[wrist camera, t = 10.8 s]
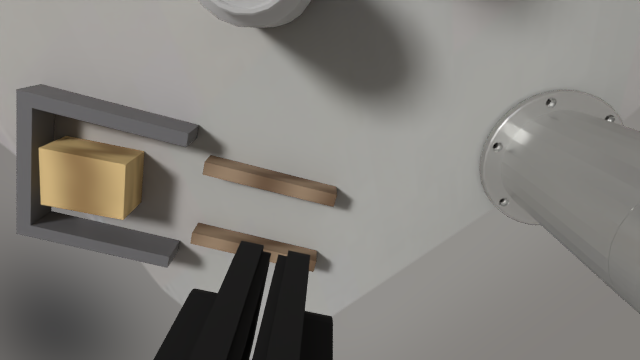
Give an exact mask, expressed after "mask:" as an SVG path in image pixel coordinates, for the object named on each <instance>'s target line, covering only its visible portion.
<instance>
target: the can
mask: <svg viewBox="0 0 640 360" xmlns="http://www.w3.org/2000/svg"><path fill="white" fill-rule="evenodd" d="M198 1H199V2H200V4H201V5H202V6H203V7H204V8H206V9H207V10H208V11H209V12H211V13H212V14H213V15H214V16H216V17H217V18H218V19H220V20H222V21H225V22H228V23H230V24H233V25H235V26H238V27H256V28H262V27H277V26H281V25H284V24H287V23H290V22H291V21H293V20H294V19H295V18H297V17H298V16H300V15H301V14H302V13H303V11H304V10H305V9H306V7H307V6H308V4H309V3H310V2H311V0H198Z"/></svg>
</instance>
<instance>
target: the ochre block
mask: <svg viewBox="0 0 640 360" xmlns="http://www.w3.org/2000/svg"><path fill="white" fill-rule="evenodd" d="M143 166H144V151H140V150H135V149H130V148H125V147H120V146H115V145H110V144H105V143H100V142H95V141H90V140H85V139H80V138H75V137H70V136H65V137H62V138H60V139H58V140H55V141H53V142H51V143H48V144H46V145H44V146H42V147H39V169H40V195H41V205H46V206H52V207H57V208H62V209H68V210H73V211H78V212H84V213H89V214H94V215H100V216H105V217H110V218H116V219H121V220H124V219H125V218H126V217H127V216H128V215H129V214H130V213H131V212H132V211H133V210H134V209H135V208H136V207H137V206H138V205H139V204H140V203H141V199H142V182H143Z"/></svg>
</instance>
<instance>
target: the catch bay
mask: <svg viewBox="0 0 640 360" xmlns="http://www.w3.org/2000/svg"><path fill="white" fill-rule="evenodd" d="M54 114H58V115H62V116H66V117H70V118H74V119H78V120H82V121H86V122H89V123H93V124H97V125H101V126H105V127H109V128H113V129H117V130H121V131H125V132H129V133H133V134H137V135H141V136H145V137H149V138H153V139H157V140H161V141H164V142H168V143H172V144H176V145H180V146H184V147H187V146H188V145H189V144H190V143H191V142H192V141H194V140H195V139H196V138H197V133H198V127H199V125H196V124H193V123H189V122H185V121H181V120H177V119H173V118H169V117H166V116H162V115H158V114H154V113H150V112H146V111H142V110H139V109H135V108H131V107H127V106H123V105H119V104H115V103H112V102H108V101H104V100H100V99H96V98H92V97H88V96H85V95H81V94H77V93H73V92H69V91H65V90H61V89H58V88H54V87H50V86H46V85H42V84H40V85H35V86H30V87H26V88H21V89H17V234H20V235H24V236H29V237H34V238H38V239H43V240H47V241H51V242H56V243H60V244H65V245H69V246H74V247H78V248H83V249H87V250H91V251H96V252H100V253H105V254H109V255H113V256H118V257H122V258H127V259H131V260H136V261H140V262H145V263H149V264H153V265H158V266H162V267H168V266H169V264H170V263H171V261H172V260H173V258H174V256H175V255H176V253H177V252H178V248H179V242H180V241H178V240H174V239H169V238H165V237H161V236H157V235H152V234H148V233H144V232H139V231H135V230H131V229H126V228H122V227H118V226H113V225H109V224H105V223H100V222H96V221H92V220H87V219H83V218H79V217H74V216H70V215H65V214H61V213H57V212H52V211H51V206H46V205H41V195H40V169H39V147H42V146H44V145H46V144H48V143H51V142H53V141H54Z"/></svg>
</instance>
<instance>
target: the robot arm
mask: <svg viewBox="0 0 640 360" xmlns="http://www.w3.org/2000/svg"><path fill="white" fill-rule="evenodd" d="M547 100H548V102H547V103H546V101H547ZM495 143H496V145H495V146H494V147H493V145H494V144H495ZM480 177H481V183H482V185H483V188H484V191H485V193H486V195H487V196H488V198H489V199H490V201H491V202H492V203H493V204H494V205H495V207H496V208H497V209H498V210H500V211H501V212H502V213H503V214H505V215H506V216H507V217H509V218H512V219H514V220H516V221H518V222H522V223H526V224H531V225H542V226H543V227H544V228H545V229H546V230H547V231H548V232H549V233H551V234H552V235H553V236H554V237H555V238H556V239H557V240H558V241H559V242H560V243H561V244H562V245H564V246H565V247H566V248H567V249H568V250H569V251H570V252H571V253H572V254H574V255H575V256H576V257H577V258H578V259H579V260H580V261H581V262H582V263H583V264H585V265H586V266H587V267H588V268H589V269H590V270H591V271H592V272H593V273H594V274H596V275H597V276H598V277H599V278H600V279H601V280H602V281H603V282H605V283H606V284H607V285H608V286H609V287H610V288H611V289H612V290H613V291H614V292H615V293H617V294H618V295H619V296H620V297H621V298H622V299H623V300H625V301H626V302H627V303H628V304H629V305H630V306H632V307H633V308H634V309H635V310H636V311H637V312H638V313H639V314H640V131H637V130H634V129H631V128H628V127H625V126H624V125H623V123H622V121H621V119H620V117H619V115H618V114H617V113H616V111H615V110H614V109H613V108H612V107H611V106H610V105H609V104H607V103H606V102H605V101H603V100H602V99H600V98H598V97H596V96H593V95H591V94H588V93H584V92H580V91H574V90H556V91H548V92H545V93H541V94H538V95H535V96H533V97H531V98H529V99H527V100H524V101H522V102H521V103H519V104H518V105H516V106H515V107H514V108H512V109H511V110H509V111H508V112H507V113H506V114H505V115H504V116H503V117H502V118H501V119H500V120H499V121H498V123H497V124H496V125H495V127H494V128H493V130H492V131H491V132H490V134H489V136H488V138H487V140H486V142H485V144H484V147H483V151H482V155H481V159H480ZM263 249H264V245H261V244H256V243H251V242H246V241H241V242H240V244H239V247H238V249H237V251H236V253H235V256H234V258H233V260H232V263H231V265H230V267H229V269H228V272H227V274H226V276H225V278H224V281H223V283H222V285H221V288H220V290H219V292H218V293H214V292H209V291H204V290H199V289H193V290H192V291H191V292H190V294H189V296H188V298H187V299H186V301H185V303H184V305H183V307H182V309H181V311H180V312H179V314H178V316H177V318H176V320H175V321H174V323H173V325H172V327H171V329H170V331H169V332H168V334H167V336H166V338H165V340H164V342H163V344H162V345H161V347H160V349H159V351H158V353H157V354H156V356H155V358H154V360H249V357H250V353H251V349H252V345H253V340H254V335H255V330H256V326H257V321H258V316H259V311H260V306H261V301H262V296H263V291H264V287H265V282H266V277H267V272H268V267H269V262H270V257H271V253H269V252H264V251H263ZM309 264H310V255H308V254H304V253H299V252H294V251H289V250H288V254H287V256H284V255H279V254H278V258H277V262H276V266H275V270H274V274H273V278H272V282H271V286H270V290H269V294H268V298H267V302H266V306H265V310H264V314H263V318H262V322H261V326H260V330H259V334H258V338H257V342H256V346H255V351H254V355H253V359H252V360H333V320H332V316H327V315H322V314H317V313H312V312H307V311H305V302H306V292H307V283H308V273H309Z"/></svg>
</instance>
